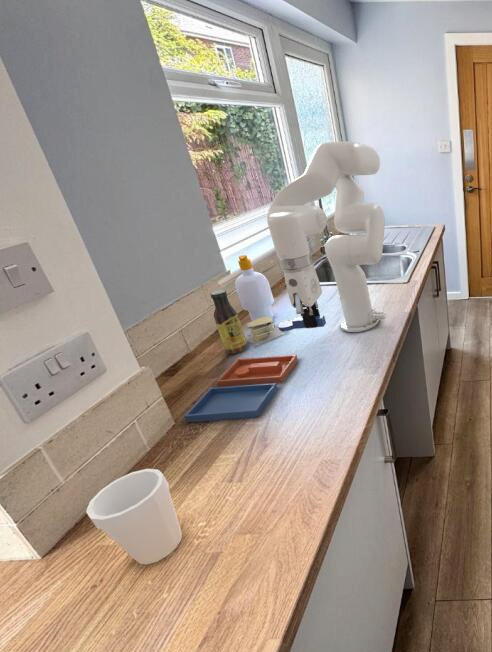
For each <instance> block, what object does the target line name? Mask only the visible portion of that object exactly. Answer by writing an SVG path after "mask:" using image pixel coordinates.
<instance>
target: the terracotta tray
mask: <svg viewBox="0 0 492 652" xmlns="http://www.w3.org/2000/svg"><path fill="white" fill-rule="evenodd" d="M298 361H299V358H298V355H297V354H289V355H275V356H263V357H262V356H261V357H250V358H248V357H247V358H237V359H236V360H235V361H234V362H233V364H232V365H230V367H229V368H228V369H227V370H226V371H225V372H224V373H223V374H222V375H221V376H220V377H219V378H218V379H217V380H216V384H217V387H229V386H242V385H256V384H269V383H276V384H282V383H284V381H285V380H286V379H287V378H288V375H290V373H291V372H292V370H293V369H294V367H295V366H296V364H297V363H298ZM266 362H280V363H281V366H282V369H281V371H280V372H279V373H268V374H254V375H249V376H246V377H242V378H239V377H237V376H236V374H235V371H236V370H237V369H238V368H240V367H243V366H247V365H251V364H252V363H266Z"/></svg>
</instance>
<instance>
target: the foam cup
mask: <svg viewBox="0 0 492 652" xmlns="http://www.w3.org/2000/svg"><path fill="white" fill-rule="evenodd" d="M169 487H170V484H169V482H168V480H167V479H166V477H165V475H164V474H163V473H162V472H161V470H159V469H158V468H157V469H156V468H144V469H139V470H136V471H132V472H130V473H127V474H125V475H123V476H120V477H119V478H117V479H114V480H113V481H111V483H109V484H108V485H106V486H104V487H103V488H102V489H100V490H99V491H98V492H97V493H96V494H95V496H93V498H92V499H91V500H90V501H89V503H88V506H87V508H86V511H85V513H86V515H87V516H88V518H89V519H90V520H91V522H92V523H93V525H94V526H95V527H96V529H98V530H101V531H102V532H103V533H104V534H106V535H107V536H108V537H109V538H110V539H111V540H112V541H113V542H114V543H115V544H117V546H119V547H120V548H121V549H122V550H123V551H124V552H125V553H127V554H128V555H129V557H131V558H133V560H134V561H136V562H137V563H138V564H140V565H151V564H153V563H157V562H159V561H161V560H163V559H164V558H167V556H169V555H170V554H172V552H174V551H175V549H177V547H178V546H179V544H180V542H181V541H182V536H183V532H182V527H181V525H180V522H179V518H178V516H177V512H176V509H175V506H174V502H173V499H172V496H171V491H170V489H169Z"/></svg>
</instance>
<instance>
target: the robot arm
mask: <svg viewBox="0 0 492 652" xmlns="http://www.w3.org/2000/svg"><path fill="white" fill-rule="evenodd" d="M311 155H312V156H311V158H310V159H309V162H308V164H307V166H306V168H305V170H304V173H303V174H302V175H301V176H298V177H296V179H294V180H292V181H291V182H290V183H288V184H287V185H285V186H284V187H282V188H281V189H280V190H279V191H278V192H277V193H276V195H275V196H274V197H273V200H272V202H271V204H270V206H269V209H268V210H267V216H266V218H267V219H266V220H267V227H268V229H269V234H270V236H271V240H272V243H273V246H274V249H275V254H276V256H277V259H278V263H279V266H280V270H281V272H283V275H284V281H285V282H284V283H285V286H286V291H287V294H288V299H289V301H290V304H291V306H292V307H293V308H294V309H295V312H296V314H297V315H300V317H302V318H303V321H304V325H305V328H304V329H316V328H318V327H317V326H318V324H317V321H316V317H315V316H321V314H320V311H319V304H318V300H319V298H320V297H321V296H322V293H323V289H322V286H321V283H320V280H319V277H318V274H317V271H316V268H315V266H314V262H313V259H312V254H311V251H310V248H309V243H308V240H307V237H311V236H315V235H318V234H320V233H322V232H323V231H324V230H325V228H326V226H327V223H328V217H327V214H326V212H325V211H324V209H322V208H321V207H320V206H317V205H311V203H312V202H313V203H314V202H317V201H319V200H321V199H323V198H326V197H328V196H329V195H331V194H332V193H333V192H334V191H335V188H336V199H335V209H334V217H333V224H334V225H333V226H334V227H335V229H336V230H337V232H339V233H342V234H338V235H333V236H331V237H329V238H328V239H327V240H326V242H325V244H324V252H325V255H326V259H327V261H328V263H329V265H330V267H331V270H332V273H333V276H334V280H335V284H336V288H337V289H336V290H337V292H338V298H339V302H340V305H341V310H342V315H343V318H344V319H343V320H342V321H341V323H340V326H341V330H343V331H345V332H348V333H360V332H364V331H368V330H370V329H372V328H374V327H376V326H377V325H378V324H379V322H380V320H386V319H387V317H386V316H387V315H386V313H385V312H384V311H376V309H375V307H373V306H372V302H371V297H370V292H369V288H368V282H367V277H366V273H365V271H364V270H363V269H362V267H361V266H363V265H365V266H366V265H368V266H369V265H376V264H378V263H379V262H380V261H381V259H382V256H383V250H384V239H385V224H386V220H385V219H386V218H385V214H384V211H383V208H382V207H381V206H380V205H379V204H376V203H372V202H371V203H368V202H367V203H365V201H364V200H365V193H364V189H363V188H362V187H361V186H360V184H359V183H358V182H357V181H356V180H355V179H354V176H372V175H375V174H377V173H378V172H379V170H380V166H381V160H380V157H379V156H380V155H379V153H378V152H377V150H376V149H374V148H373V146H369V145H366V144H364V143H360V142H357V141H329V142H323V143H320V144H318V145H317V146H316V148H315V149H314V150H313V153H312V154H311ZM352 176H353V177H352Z"/></svg>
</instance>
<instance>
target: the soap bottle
mask: <svg viewBox="0 0 492 652" xmlns="http://www.w3.org/2000/svg"><path fill="white" fill-rule="evenodd" d="M238 259H239V260H238V262H237V263H238V266H239V268H240V272H241V274H240V275H239V276H238V277H237V278H236V279H235V282H234V287H235V291H236V294H237V296H238V299H239V302H240V305H241V307H242V309H243V310H244V311H246V312H248V314H249V318H250V320H251V322H252V321H254V320H256V319H259V318H262V317H268V318H273V319H274V317H275V313H274V309H273V307H272V305H273V304H274V302H275V299H274V295H273V292H272V289H271V286H270V283H269V280H268V278H267V277H266V276H265V275H264V274H263V273H261V272H258V271H255V270H254V268H253V264H252V261H251V259H250V258H248V255H247V254H241V255H239V256H238Z"/></svg>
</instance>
